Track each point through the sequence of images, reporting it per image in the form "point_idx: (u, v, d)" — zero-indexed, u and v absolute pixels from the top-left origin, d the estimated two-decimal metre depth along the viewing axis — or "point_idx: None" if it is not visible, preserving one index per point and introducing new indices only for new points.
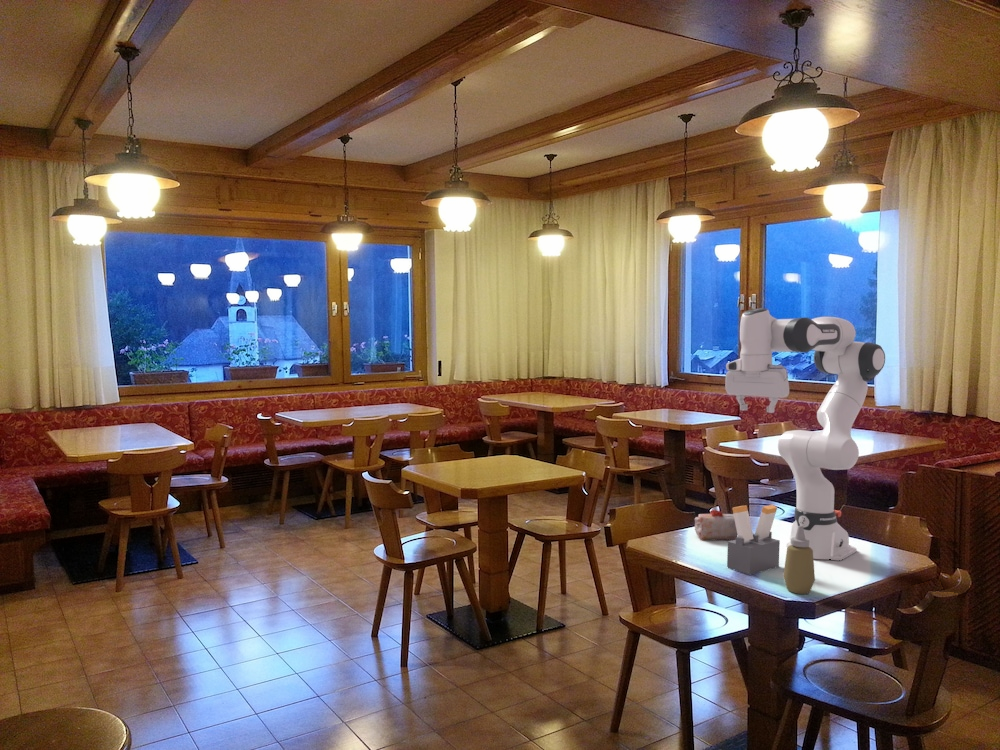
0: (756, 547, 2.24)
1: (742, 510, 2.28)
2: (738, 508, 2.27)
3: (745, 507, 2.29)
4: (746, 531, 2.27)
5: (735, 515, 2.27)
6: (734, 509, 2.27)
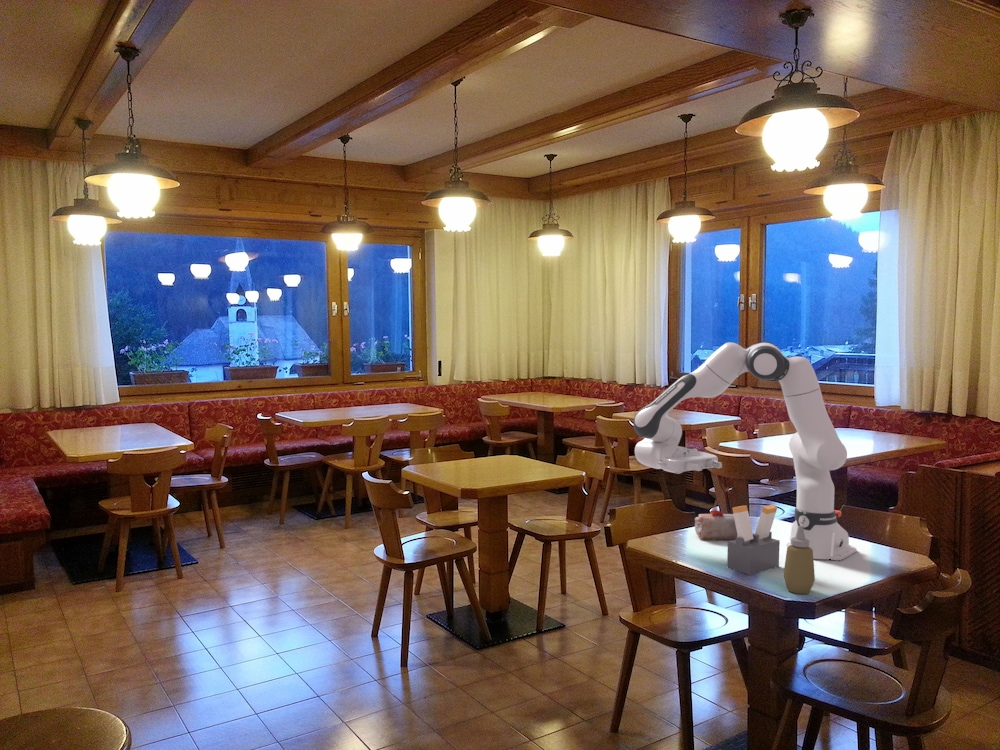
0: (756, 547, 2.24)
1: (742, 510, 2.28)
2: (738, 508, 2.27)
3: (745, 507, 2.29)
4: (746, 531, 2.27)
5: (735, 515, 2.27)
6: (734, 509, 2.27)
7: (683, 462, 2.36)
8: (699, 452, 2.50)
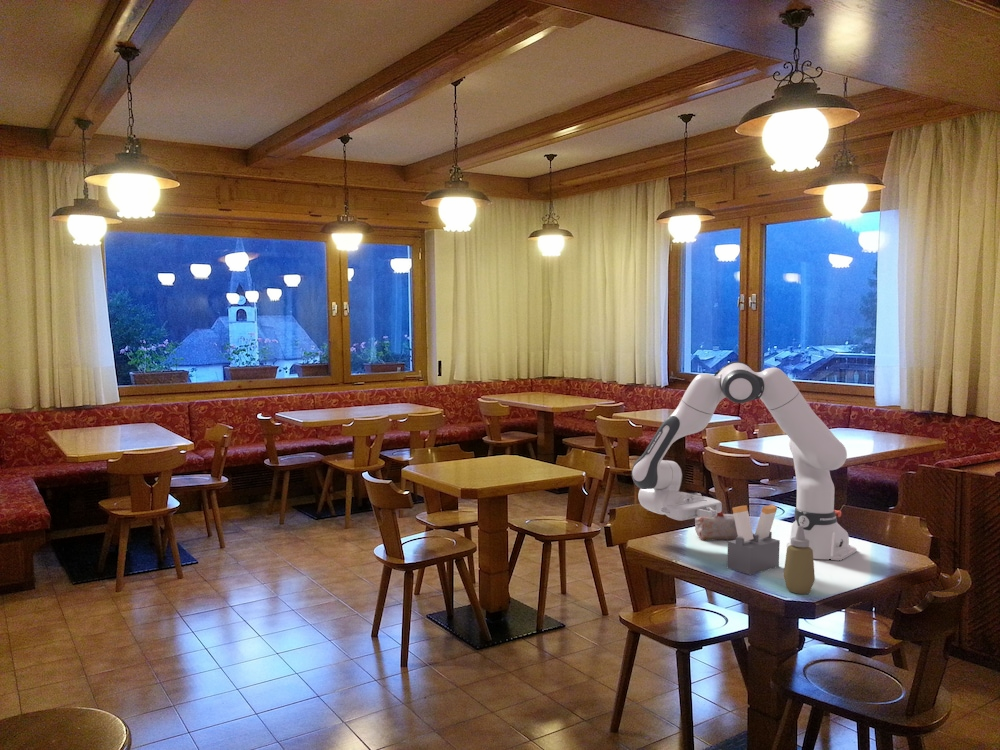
0: (756, 547, 2.24)
1: (742, 510, 2.28)
2: (738, 508, 2.27)
3: (745, 507, 2.29)
4: (746, 531, 2.27)
5: (735, 515, 2.27)
6: (734, 509, 2.27)
7: (686, 510, 2.36)
8: (703, 497, 2.49)
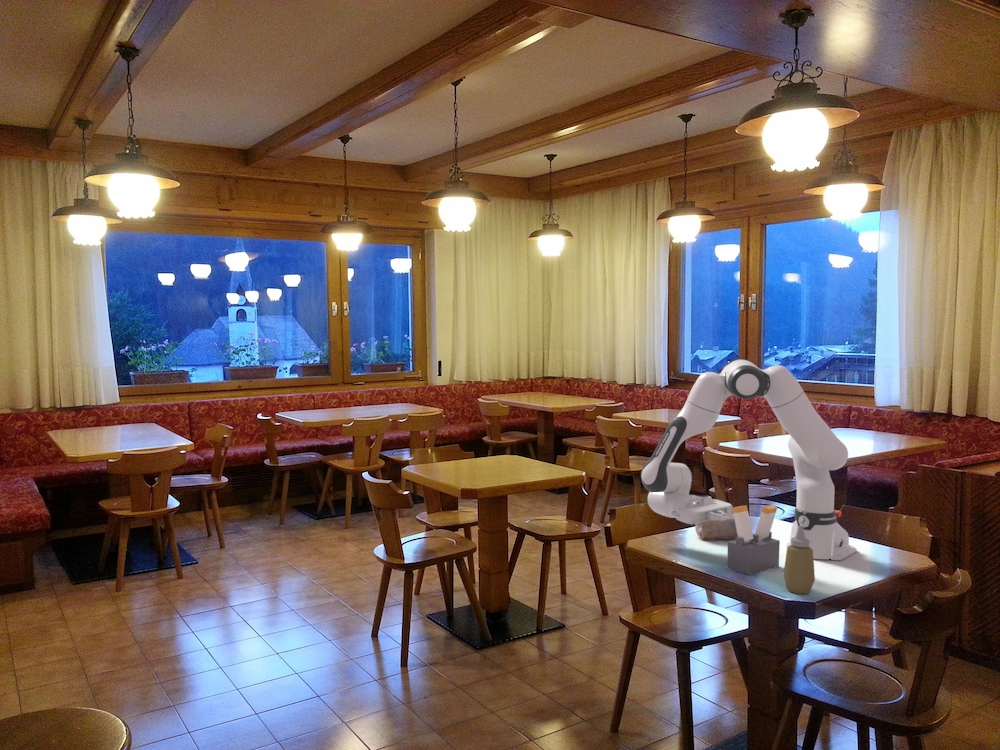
0: (756, 547, 2.24)
1: (742, 510, 2.28)
2: (738, 508, 2.27)
3: (745, 507, 2.29)
4: (746, 531, 2.27)
5: (735, 515, 2.27)
6: (734, 509, 2.27)
7: (697, 514, 2.33)
8: (713, 500, 2.46)
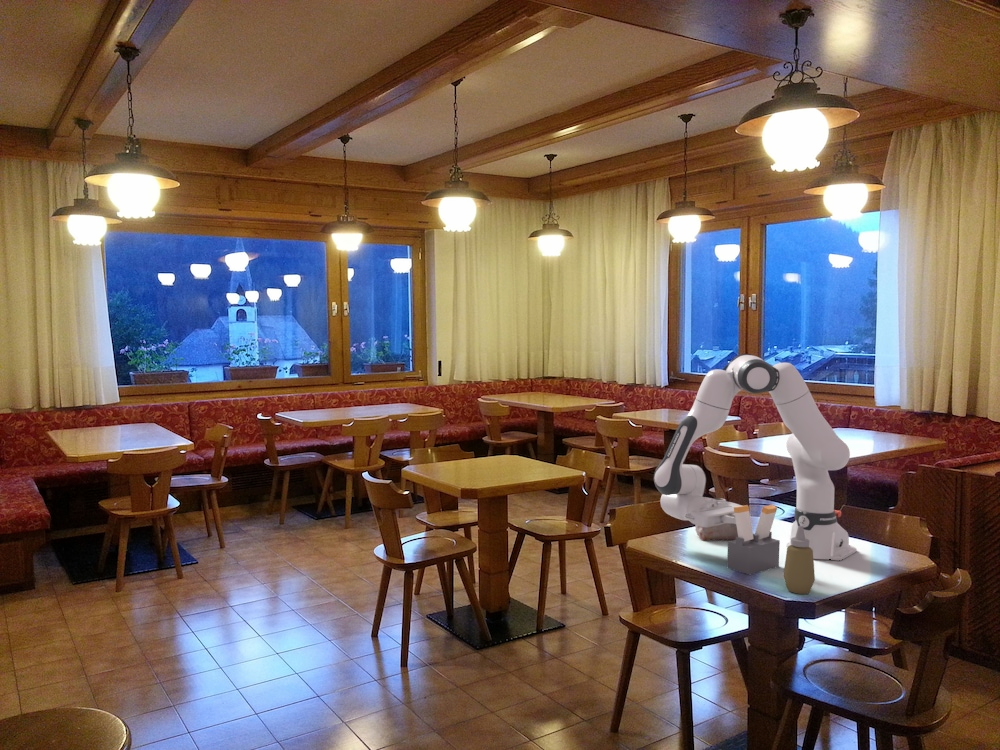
0: (756, 547, 2.24)
1: (743, 511, 2.27)
2: (740, 508, 2.26)
3: (747, 507, 2.28)
4: (747, 531, 2.26)
5: (736, 515, 2.27)
6: (736, 509, 2.27)
7: (712, 517, 2.28)
8: (728, 503, 2.41)
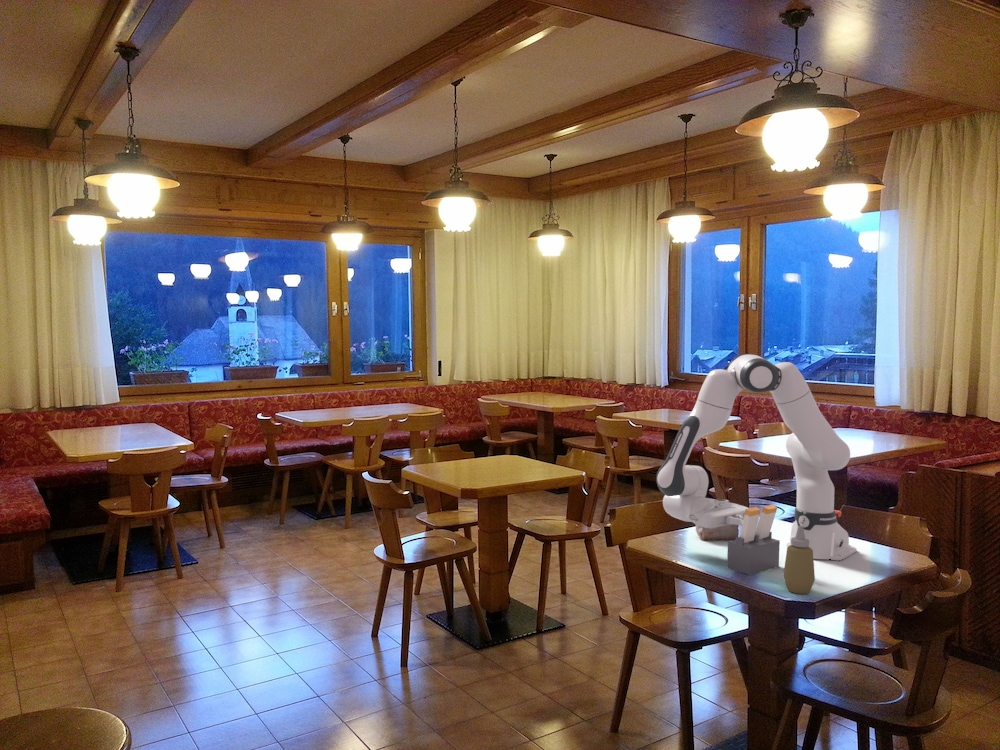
0: (756, 547, 2.24)
1: (754, 514, 2.24)
2: (751, 512, 2.23)
3: (758, 511, 2.25)
4: (750, 533, 2.26)
5: (746, 517, 2.24)
6: (747, 511, 2.24)
7: (715, 518, 2.27)
8: (731, 504, 2.40)
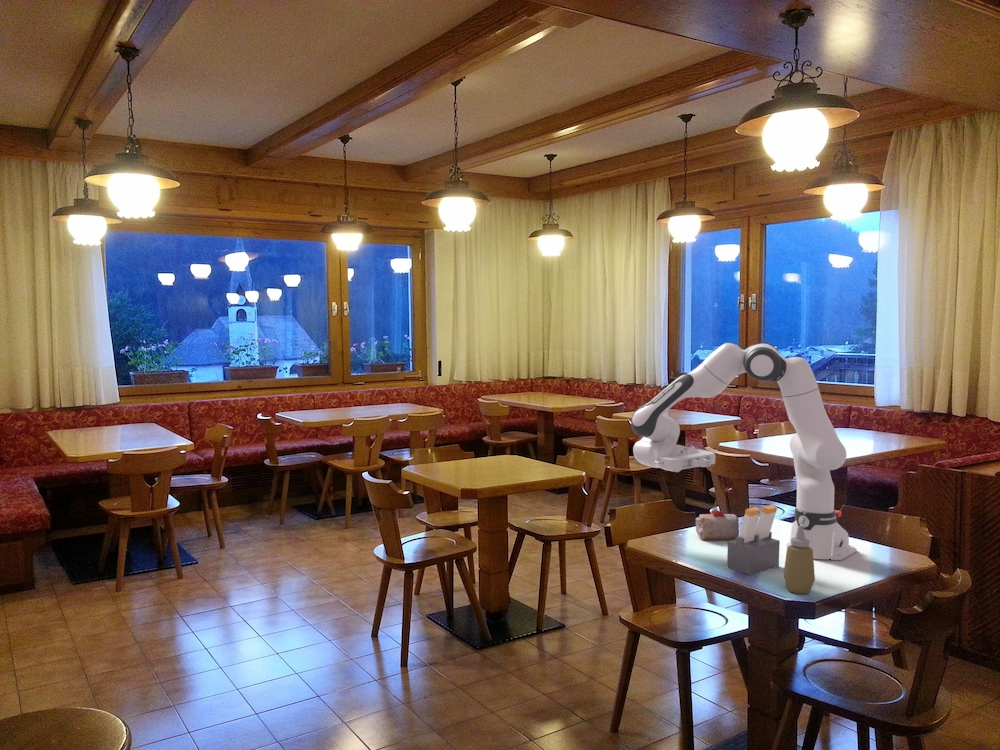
0: (756, 547, 2.24)
1: (754, 514, 2.24)
2: (751, 512, 2.23)
3: (758, 511, 2.25)
4: (750, 533, 2.26)
5: (746, 517, 2.24)
6: (747, 511, 2.24)
7: (680, 460, 2.37)
8: (697, 450, 2.51)
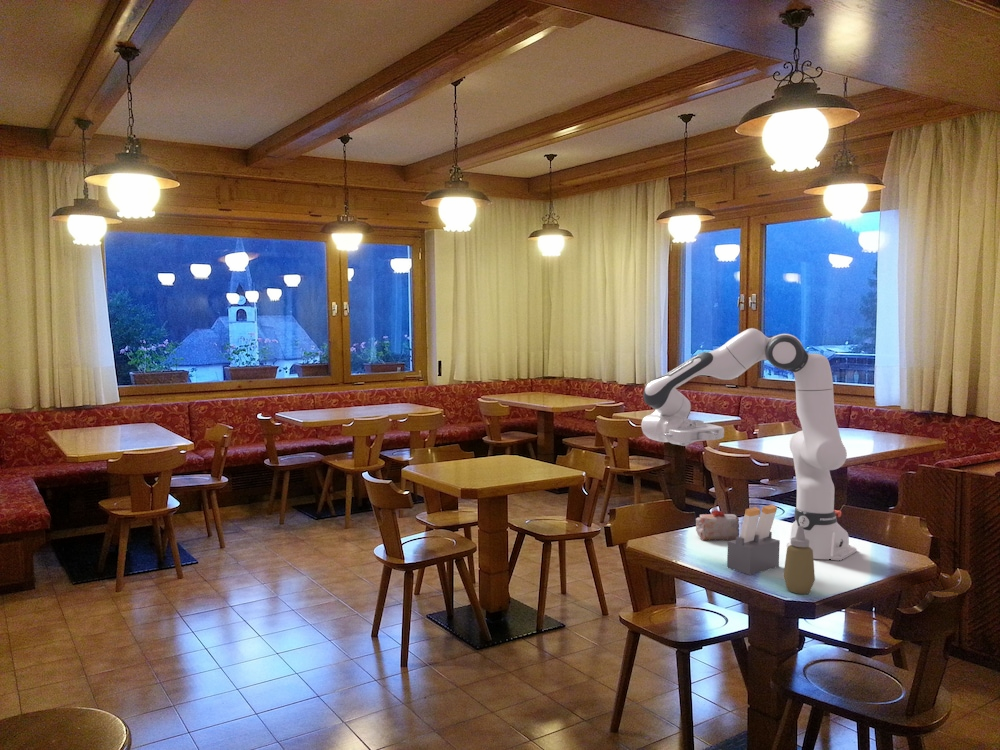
0: (756, 547, 2.24)
1: (754, 514, 2.24)
2: (751, 512, 2.23)
3: (758, 511, 2.25)
4: (750, 533, 2.26)
5: (746, 517, 2.24)
6: (747, 511, 2.24)
7: (689, 433, 2.36)
8: (705, 424, 2.50)
